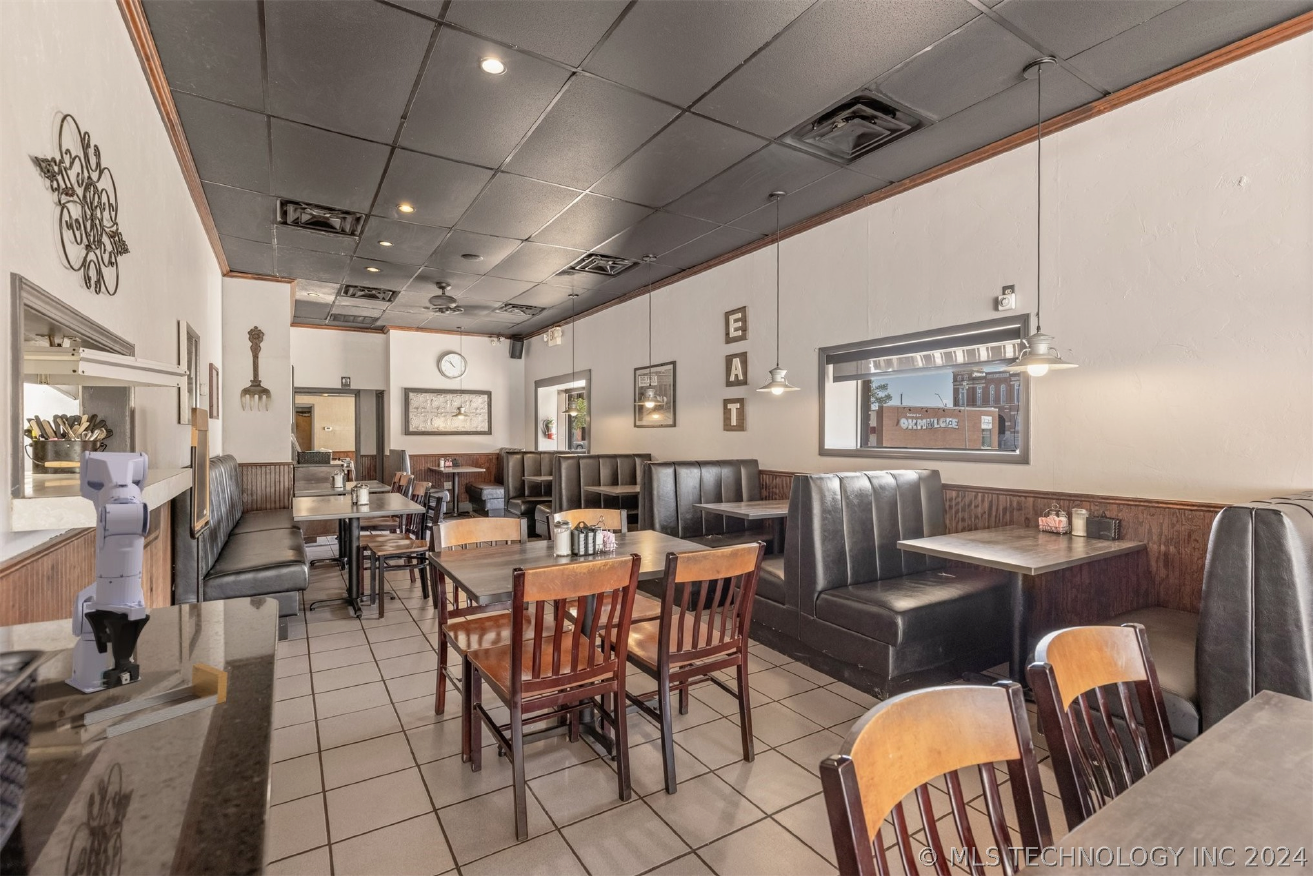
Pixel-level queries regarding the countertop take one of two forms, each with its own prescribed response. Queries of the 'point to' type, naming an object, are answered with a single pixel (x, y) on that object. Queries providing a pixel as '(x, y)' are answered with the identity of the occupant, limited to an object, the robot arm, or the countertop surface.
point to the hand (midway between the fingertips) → (114, 655)
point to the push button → (116, 667)
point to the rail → (204, 684)
